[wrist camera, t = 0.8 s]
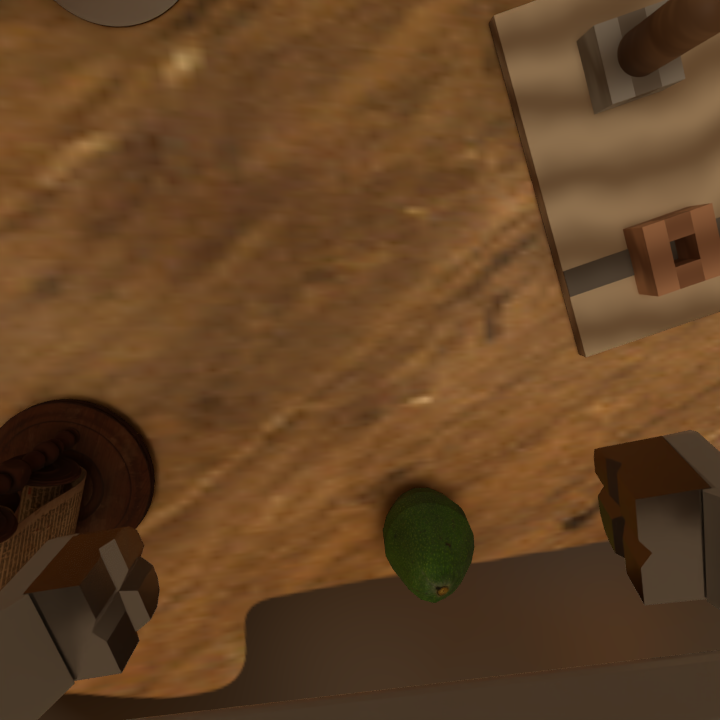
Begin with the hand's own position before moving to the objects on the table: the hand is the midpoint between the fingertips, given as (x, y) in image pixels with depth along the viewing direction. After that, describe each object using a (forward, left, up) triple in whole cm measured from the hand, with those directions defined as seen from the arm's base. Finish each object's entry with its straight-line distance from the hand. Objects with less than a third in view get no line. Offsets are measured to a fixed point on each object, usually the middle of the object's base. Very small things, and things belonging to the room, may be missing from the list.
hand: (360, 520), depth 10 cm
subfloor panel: (-4, +29, -42) cm, 51 cm away
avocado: (+21, +1, -42) cm, 47 cm away
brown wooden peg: (-12, +29, -40) cm, 51 cm away
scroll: (+6, -28, -42) cm, 51 cm away
